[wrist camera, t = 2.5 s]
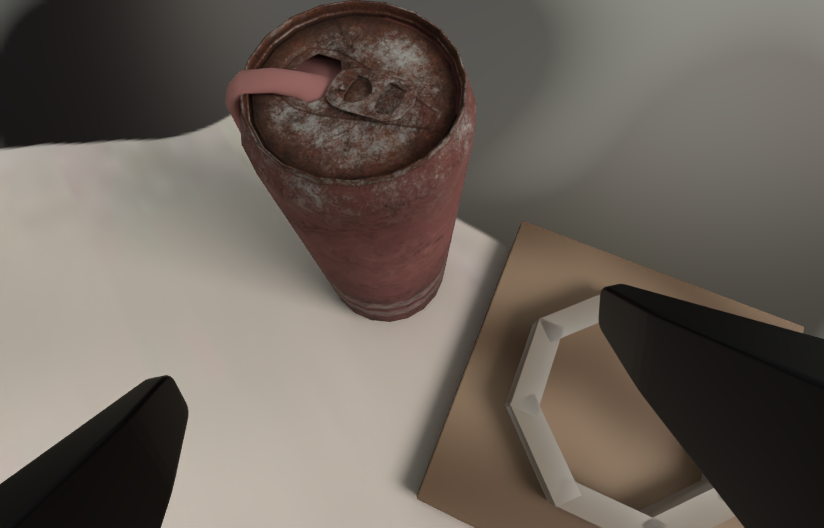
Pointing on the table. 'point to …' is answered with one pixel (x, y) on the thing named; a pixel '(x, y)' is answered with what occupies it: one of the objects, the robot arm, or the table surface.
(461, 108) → the can
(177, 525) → the table surface
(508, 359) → the cup holder
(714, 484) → the robot arm
